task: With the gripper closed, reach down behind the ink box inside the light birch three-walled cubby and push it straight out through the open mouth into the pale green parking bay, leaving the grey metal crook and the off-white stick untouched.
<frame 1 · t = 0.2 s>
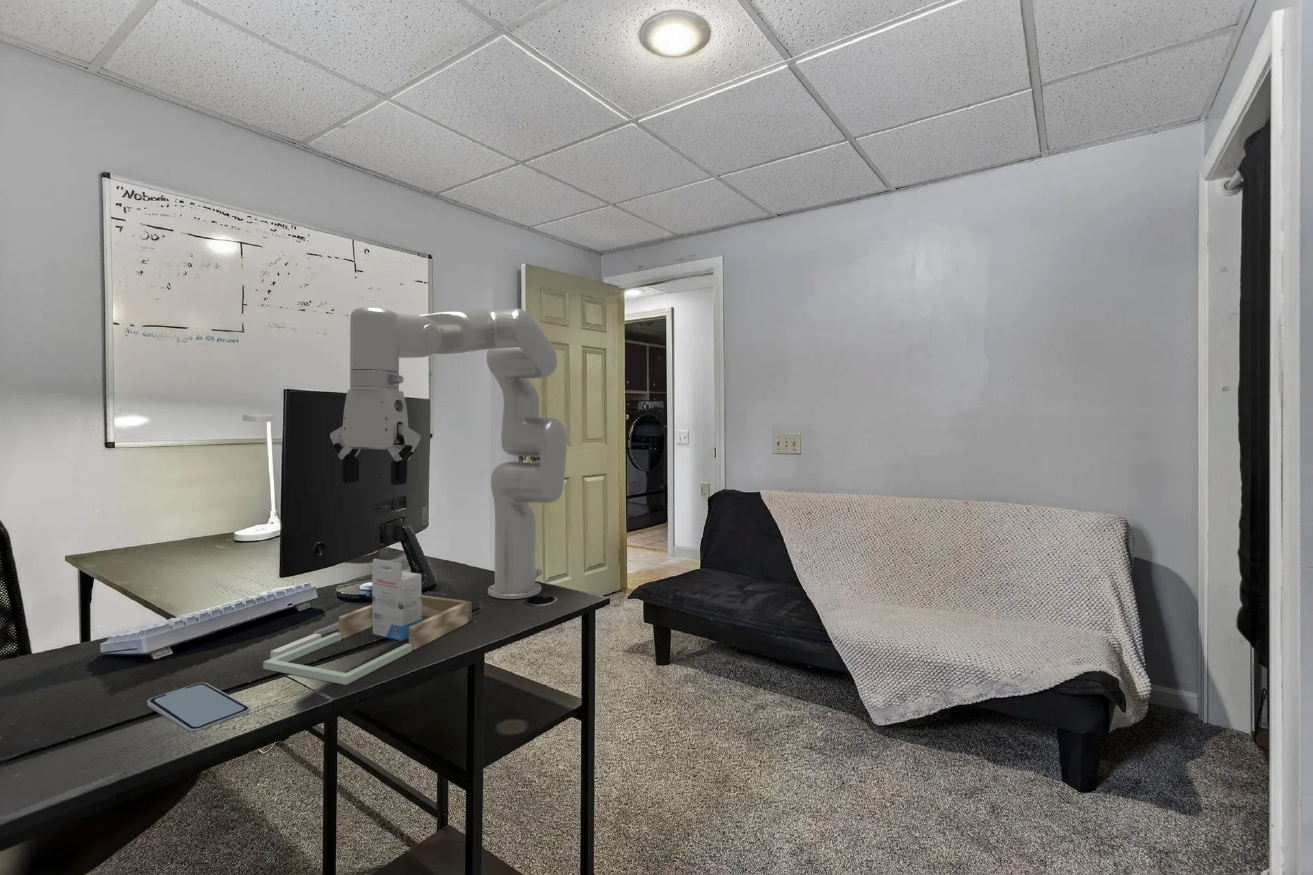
hand: (374, 483, 102), 31 cm above the table, fingers open, 9 cm apart
smartphone: (198, 711, 85), on the table
bay: (343, 658, 103), on the table
ink box: (397, 635, 116), on the table
crook tool: (341, 626, 119), on the table
cubby: (408, 628, 118), on the table
stick: (296, 651, 107), on the table
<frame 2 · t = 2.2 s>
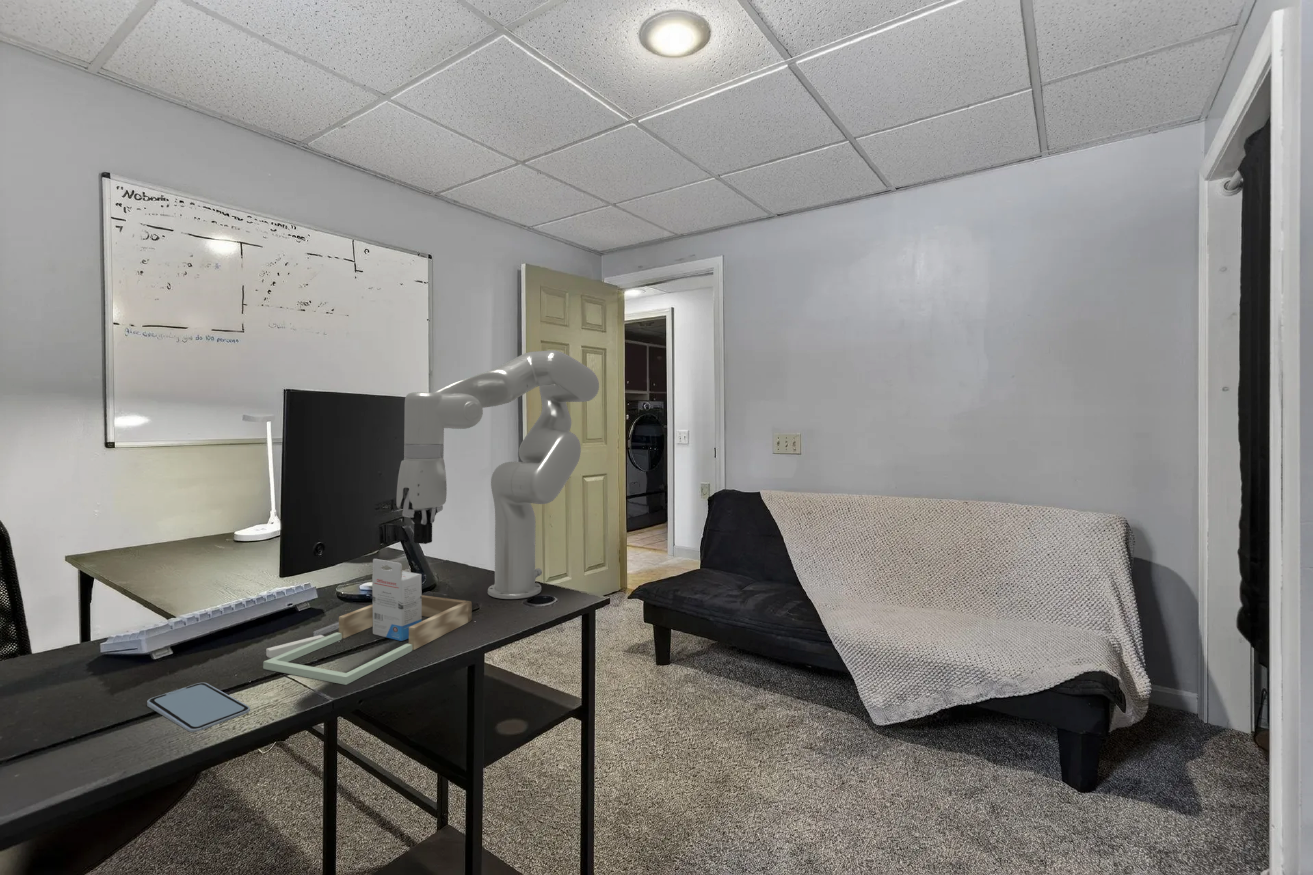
hand: (423, 542, 122), 16 cm above the table, fingers closed
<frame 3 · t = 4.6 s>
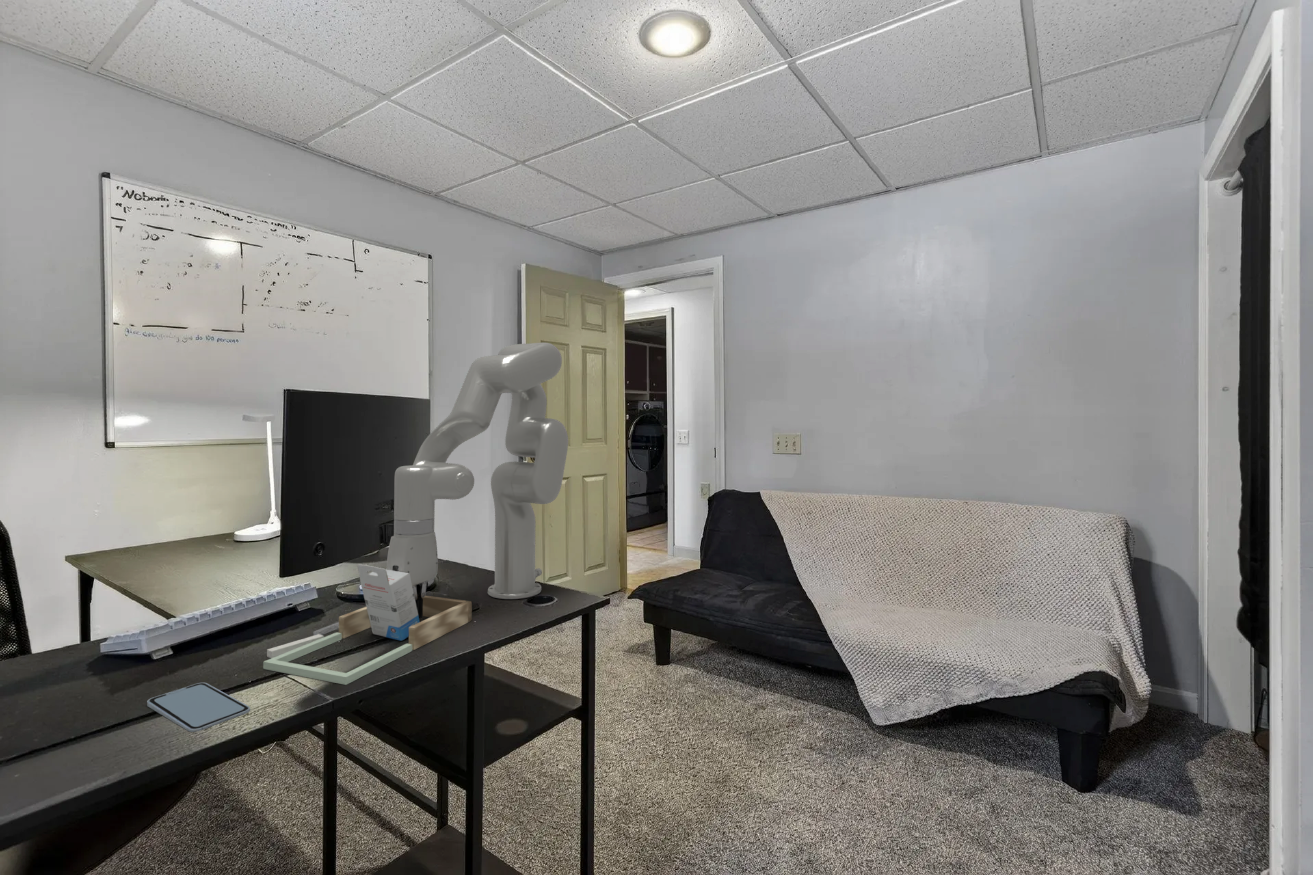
hand: (413, 618, 120), 2 cm above the table, fingers closed
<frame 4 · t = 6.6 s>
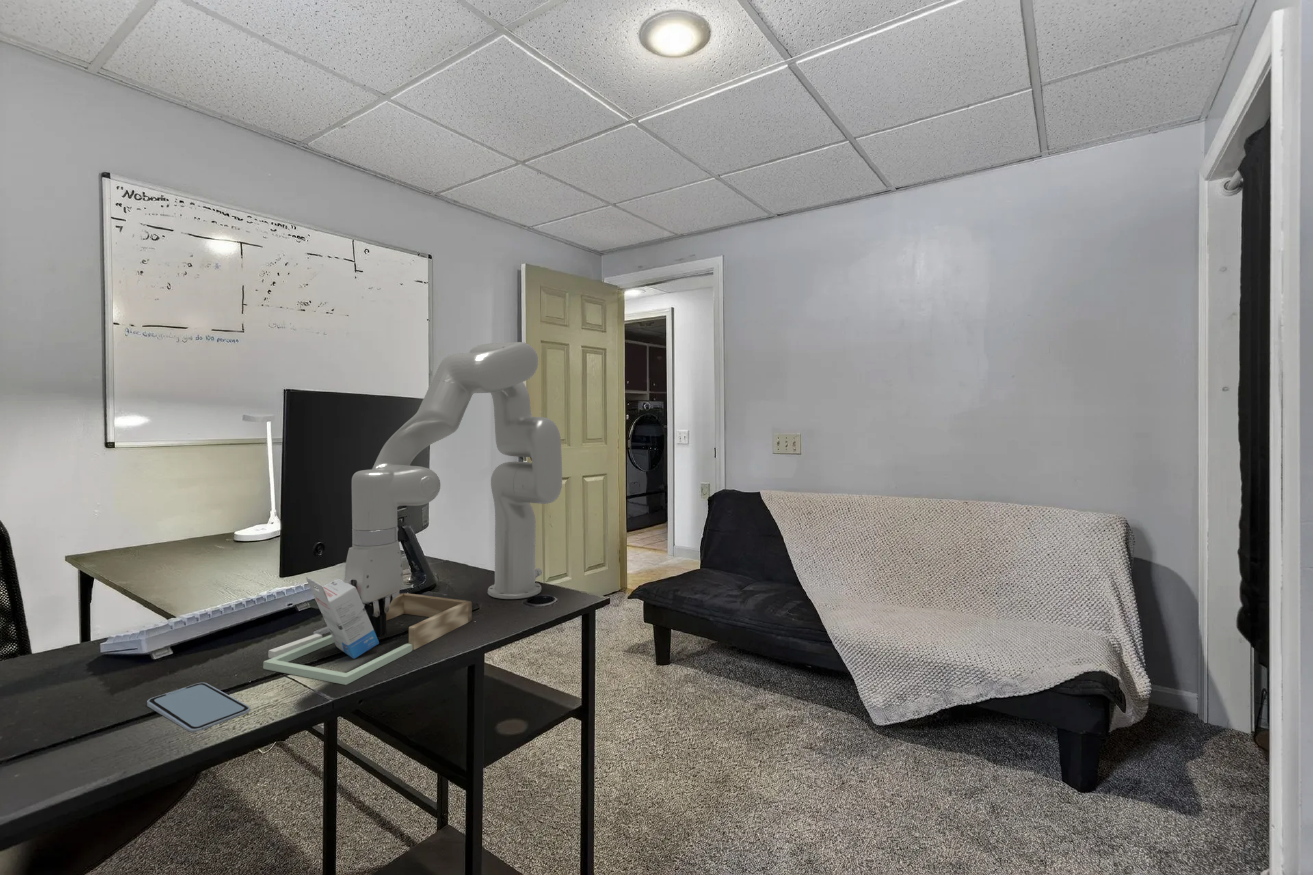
hand: (376, 635, 110), 2 cm above the table, fingers closed
ink box: (358, 646, 107), point 1 cm above the table, touching gripper
everything else where it was.
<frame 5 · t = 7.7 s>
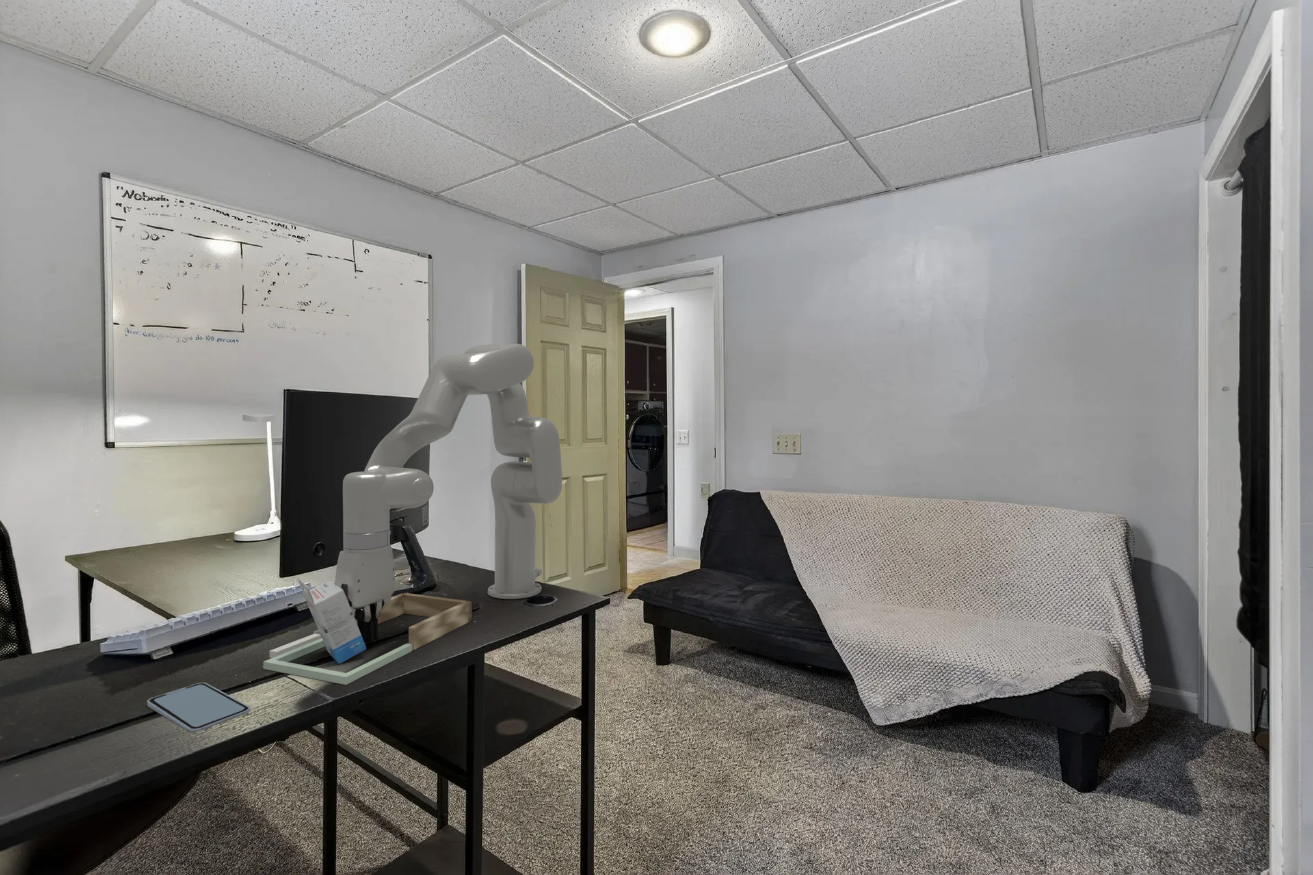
hand: (367, 640, 108), 1 cm above the table, fingers closed
ink box: (347, 650, 105), point 1 cm above the table, touching gripper
everything else where it was.
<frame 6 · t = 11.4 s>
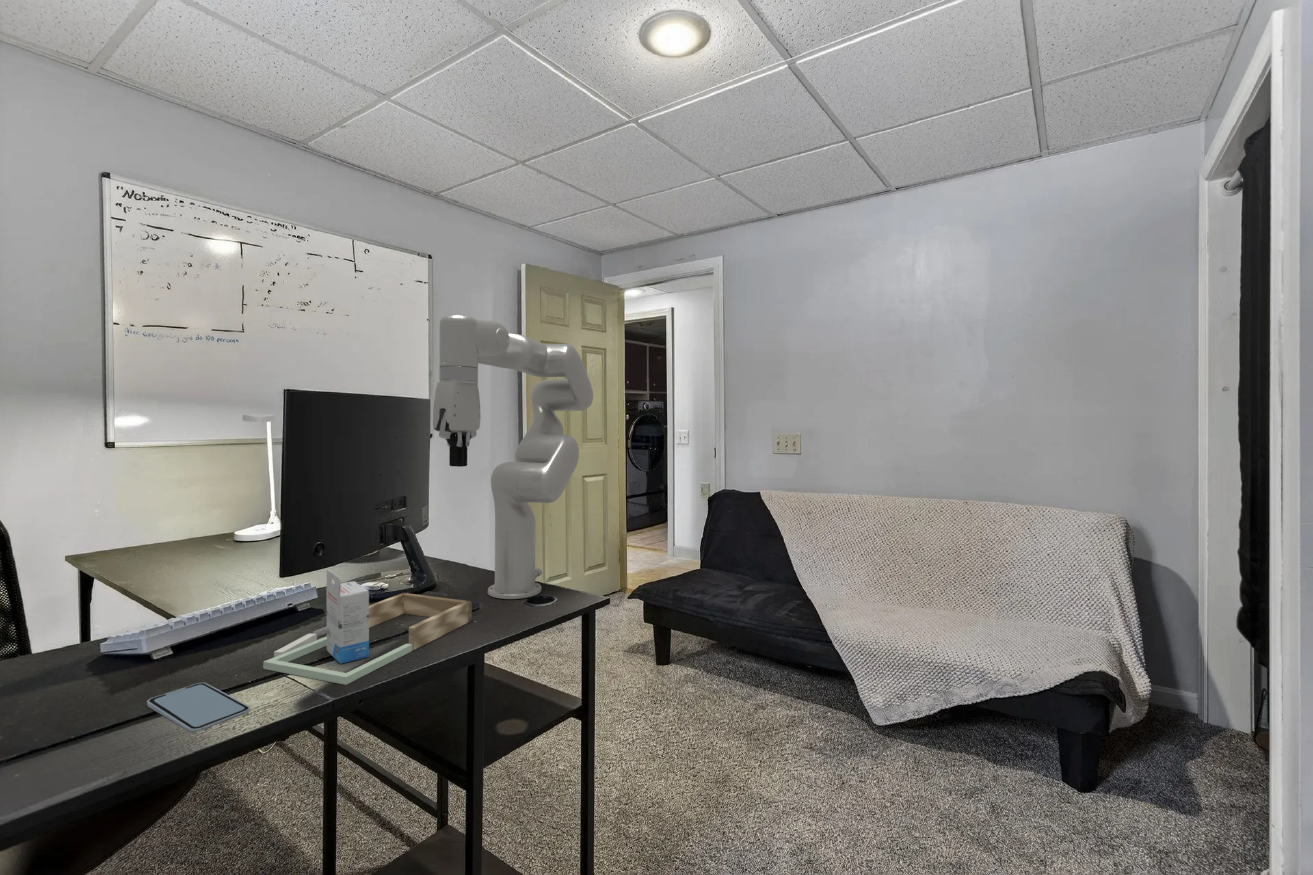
hand: (458, 465, 123), 32 cm above the table, fingers closed
ink box: (347, 654, 105), on the table
at the end: ink box inside the target area (2.3 cm from its centre), on the table; ink box tilted 0°; ink box moved 11.0 cm from its start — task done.
